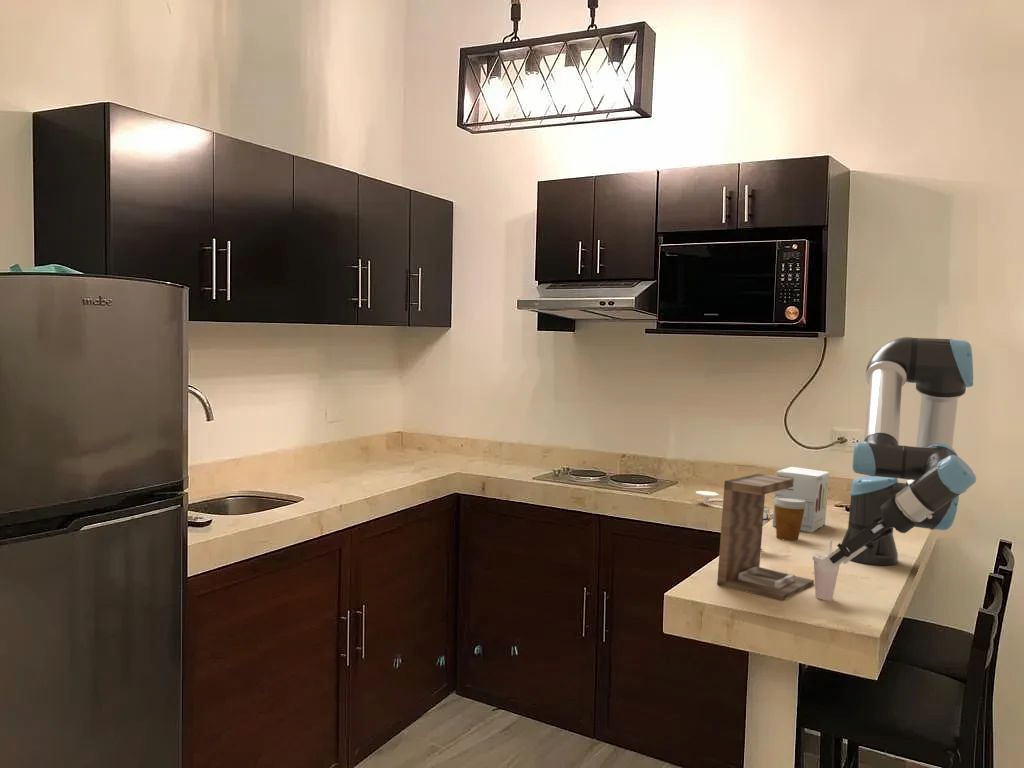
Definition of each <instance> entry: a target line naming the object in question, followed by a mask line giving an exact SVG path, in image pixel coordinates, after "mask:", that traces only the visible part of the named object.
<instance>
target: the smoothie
mask: <svg viewBox="0 0 1024 768" xmlns="http://www.w3.org/2000/svg"><path fill="white" fill-rule="evenodd" d="M832 550H833V538H832V537H831V538H829V547H828V553H814V554H813V555H812V561H813V571H814V588H815V589H814V590H815V591H814V592H815V598H816V599H818V598H819V600H821V599H823V600H822V601H832V600H833V599H834V593H835V589H836V584H837V579H838V574H839V570H840V566H841V565H842V563H843V562H841V563H840V564H839V565H837V566H836V567H834V568H833V569H832V570H830V571H829V572H828V573H826V574H825V573H824V572H823V571H822V570H821V568H820V567H819V566H818V563H819V562H820V561H822V560H823V559H824V558H826V557H827V556H829V555H830V554H831V553H832Z"/></svg>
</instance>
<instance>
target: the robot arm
mask: <svg viewBox="0 0 1024 768" xmlns="http://www.w3.org/2000/svg"><path fill="white" fill-rule="evenodd" d="M865 380H866V382H867V385H868V390H867V391H868V392H867V393H868V394H867V403H866V404H867V405H866V413H865V422H864V423H865V424H864V425H865V426H864V434H863V435H864V436H863V440H862V441H856V442H855V443H854V447H853V448H854V449H853V455H852V470H853V472H854V473H855V474H859V475H864V476H857V477H856V478H854V479H853V480H852V483H851V490H850V493H849V495H850V502H849V503H850V504H849V511H848V512H849V514H848V525H847V529H846V532H845V534H844V537H843V539H842V541H841V543H837V545H836V546H837V549H835V550H834V551H833V552H831V554H830V555H829V556H827V557H826V558H824V559H823V560H822V561H820V562H819V563H818V566H819V567H820V568H821V570H822V571H823V572H824V573H825V574H826V573H828V572H829V571H830V570H832V569H833V568H834V567H836V566H837V565H839V564H840V563H841V562H842V563H843V564H847V563H848V562H850V561H853V562H857V563H861V564H866V565H867V564H868V565H875V566H876V565H878V566H893V565H896V564H898V560H899V553H898V549H897V545H896V542H895V539H894V538H895V537H894V529H895V531H897V532H899V533H902V534H906V533H907V532H909V531H911V530H912V529H913V528H920V529H927V530H928V529H929V530H930V531H933V530H938V531H947V530H948V529H950V528H951V527H952V526H953V525H954V521H955V520H956V519H955V518H956V516H957V511H958V505H959V499H960V495H961V494H964V493H966V492H967V491H968V489H969V488H971V486H973V485H974V484H975V483H976V481H977V476H976V474H975V473H974V471H973V469H972V468H971V467H970V466H969V464H967V462H966V461H965V460H964V459H963V458H961V457H959V456H958V453H957V452H956V450H955V449H954V448H953V443H954V433H955V426H956V416H957V411H958V400H959V398H961V397H963V396H964V395H965V394H966V391H967V390H966V389H967V388H971V387H973V386H974V362H973V351H972V346H971V343H970V342H969V341H966V340H959V339H953V338H929V337H926V338H925V337H912V336H911V337H910V336H905V337H903V336H902V337H898V338H895V339H892V340H891V341H888V342H887V343H885V344H884V345H881V347H880V348H878V349H877V350H876V351H875V352H874V354H873V355H872V356H871V357H870V359H869V361H868V363H867V366H866V370H865ZM906 383H911V384H915V390H916V391H917V392H918V393H919V394H920V396H921V397H920V404H919V405H920V406H919V413H918V414H919V416H918V424H917V425H918V427H917V435H916V446H911V445H900V443H899V441H900V425H901V424H900V423H901V403H902V390H903V389H902V387H903V386H905V384H906ZM898 479H901V480H902V479H903V480H906V482H899V480H898ZM842 563H841V564H842ZM841 564H840V565H841Z"/></svg>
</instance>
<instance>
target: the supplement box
mask: <svg viewBox="0 0 1024 768" xmlns="http://www.w3.org/2000/svg"><path fill="white" fill-rule="evenodd" d="M830 474H831V473H830V471H825V470H819V469H810V468H803V467H796V466H789V467H785V468H782V469H780V470H777V471H776V475H775V476H778V477H785V478H791V479H793V487H790V488H786V489H782V490H779V491H775V492H774V501H775V498H776V497H793V498H799V499H803V500H805V504H806V507H805V509H804V514H803V518H802V523H801V528H800V530H801V531H800V532H806V531H807V533H811V532H812V533H813V532H815V531H816V530H819V529H820V527H821V528H823V527H824V526H826V521H827V519H826V518H827V505H828V493H829V492H828V491H829V484H830V483H829V481H830ZM774 501H773V502H774ZM773 505H774V504H773ZM823 525H824V526H823ZM772 526H773V527H776V517H775V505H774V506H773V515H772ZM818 528H819V529H818Z"/></svg>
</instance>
